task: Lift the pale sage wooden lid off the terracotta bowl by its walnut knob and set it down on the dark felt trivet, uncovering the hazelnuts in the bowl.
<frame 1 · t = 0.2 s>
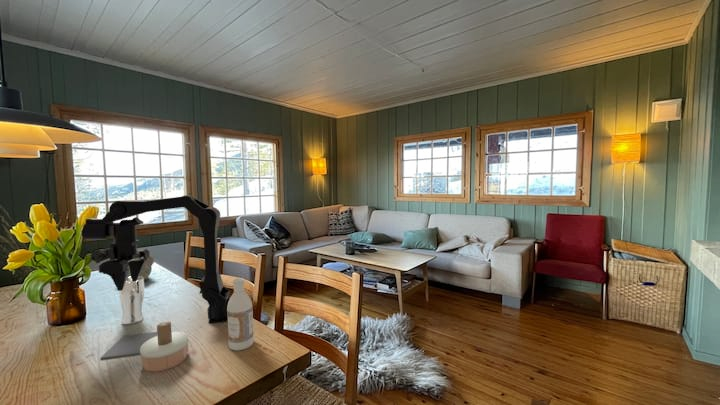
hand: (127, 285, 97), 15 cm above the table, tool pointing down, fingers open, 8 cm apart
rock: (136, 281, 147), on the table
bath foam: (241, 345, 89), on the table
lid: (165, 346, 81), point 4 cm above the table, touching bowl
bowl: (166, 360, 81), on the table
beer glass: (132, 321, 104), on the table, touching gripper
trivet: (136, 344, 89), on the table
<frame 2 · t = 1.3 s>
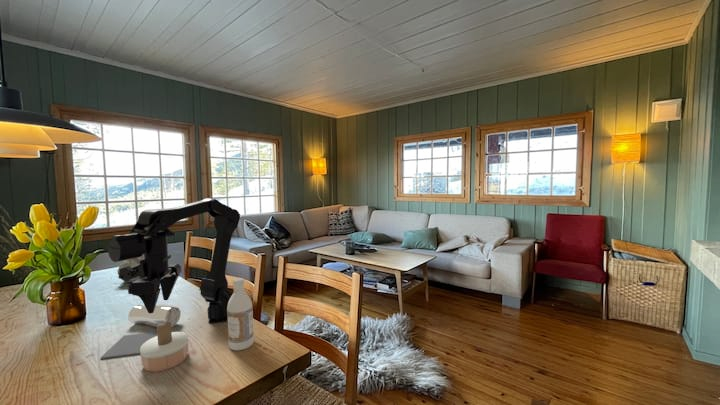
hand: (158, 306, 86), 13 cm above the table, tool pointing down, fingers open, 9 cm apart
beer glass: (135, 314, 103), point 3 cm above the table
everything else where it was.
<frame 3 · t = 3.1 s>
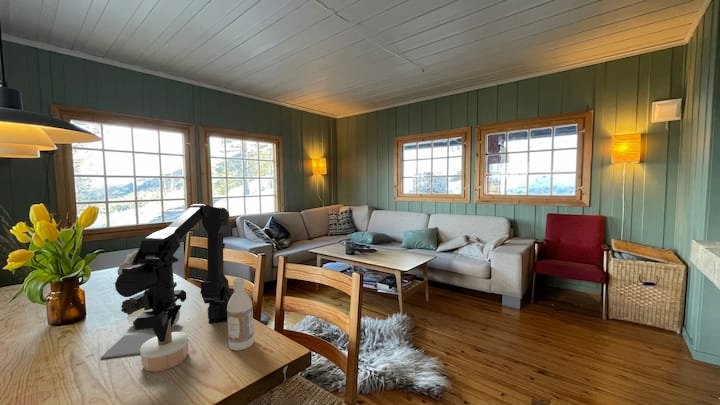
hand: (164, 338, 81), 6 cm above the table, tool pointing down, fingers closed on lid, 3 cm apart
lid: (165, 346, 81), point 4 cm above the table, touching bowl, gripper
everything else where it was.
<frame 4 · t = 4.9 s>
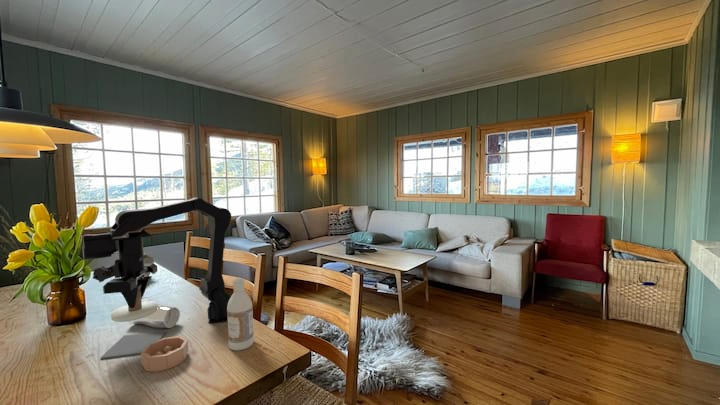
hand: (135, 305, 87), 13 cm above the table, tool pointing down, fingers closed on lid, 3 cm apart
lid: (135, 312, 88), point 10 cm above the table, touching gripper
everything else where it was.
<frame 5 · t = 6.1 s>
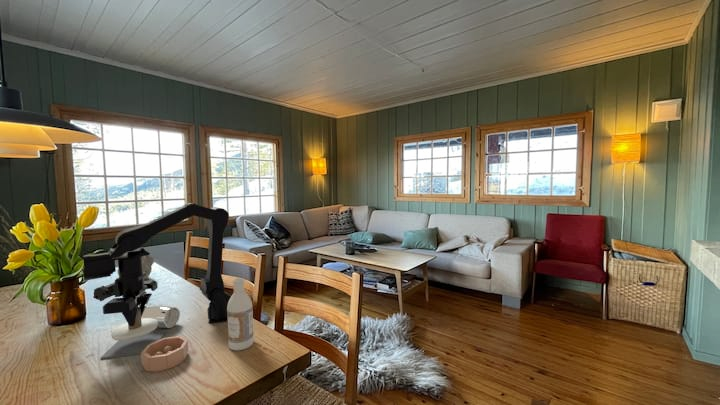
hand: (135, 323, 89), 7 cm above the table, tool pointing down, fingers closed on lid, 3 cm apart
lid: (135, 330, 89), point 4 cm above the table, touching gripper
everything else where it was.
when the fingers open (4 cm above the table, at t = 6.9 s): lid drops 1 cm, resting on trivet.
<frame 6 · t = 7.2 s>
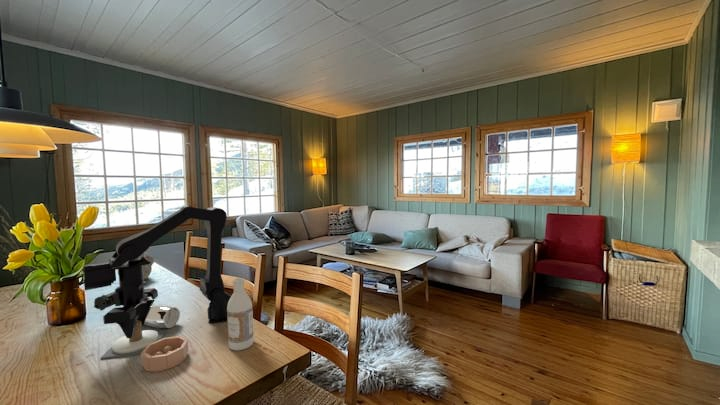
hand: (135, 331, 89), 4 cm above the table, tool pointing down, fingers open, 7 cm apart
lid: (136, 343, 89), resting on trivet
everything else where it was.
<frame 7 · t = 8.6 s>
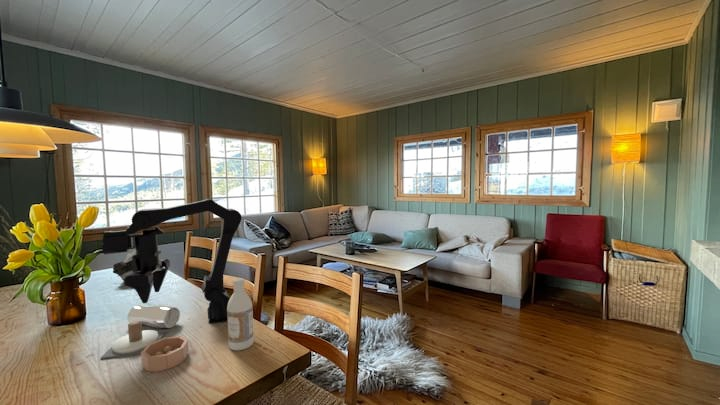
hand: (151, 297, 94), 12 cm above the table, tool pointing down, fingers open, 9 cm apart
nothing on the table moved.
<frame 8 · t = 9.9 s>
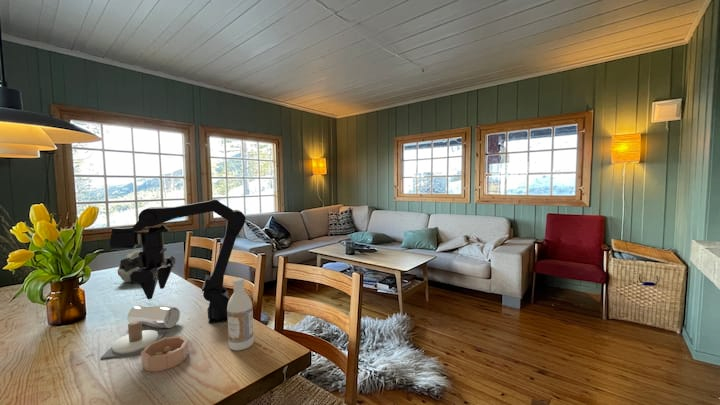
hand: (156, 293, 97), 13 cm above the table, tool pointing down, fingers open, 9 cm apart
nothing on the table moved.
at the end: lid inside the target area on the trivet (0.0 cm from its centre), point 0.5 cm above the trivet's base; lid touching trivet; lid tilted 0° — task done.
